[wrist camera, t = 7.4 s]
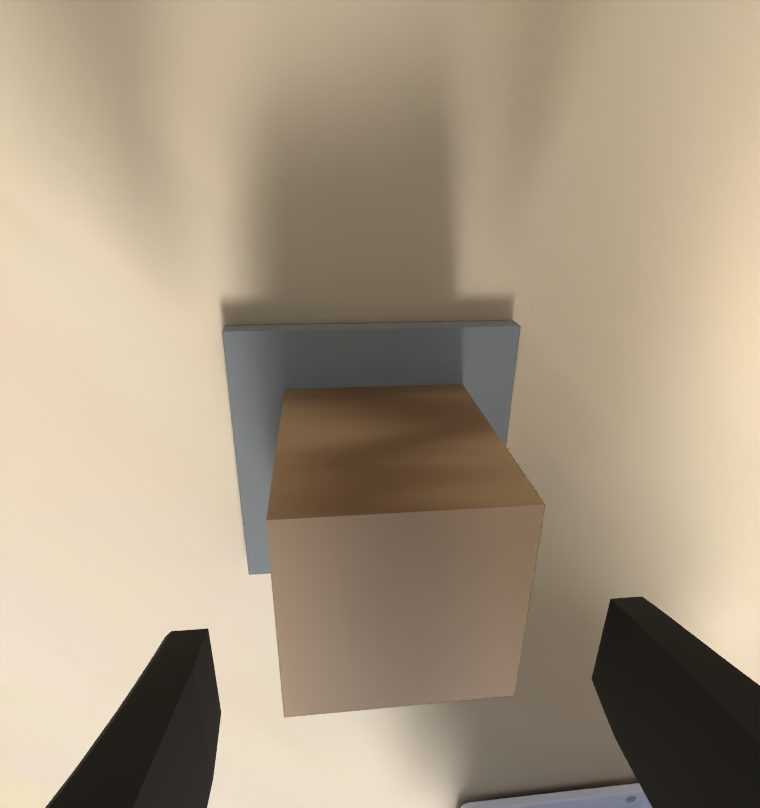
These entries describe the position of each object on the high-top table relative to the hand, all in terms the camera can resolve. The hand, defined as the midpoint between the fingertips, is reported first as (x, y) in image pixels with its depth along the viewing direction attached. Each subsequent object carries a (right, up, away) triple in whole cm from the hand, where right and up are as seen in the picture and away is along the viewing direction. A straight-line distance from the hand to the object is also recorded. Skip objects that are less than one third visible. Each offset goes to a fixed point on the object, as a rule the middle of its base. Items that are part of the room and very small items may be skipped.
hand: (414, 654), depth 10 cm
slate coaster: (-1, +3, +7) cm, 8 cm away
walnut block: (-1, +3, +6) cm, 7 cm away
